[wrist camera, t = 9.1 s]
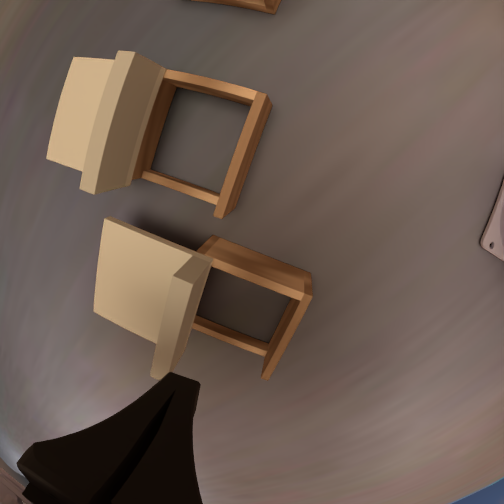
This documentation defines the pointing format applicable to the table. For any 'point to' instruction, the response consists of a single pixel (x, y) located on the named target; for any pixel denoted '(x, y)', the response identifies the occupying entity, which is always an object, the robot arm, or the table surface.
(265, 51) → the table surface
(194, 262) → the lid
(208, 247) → the crates
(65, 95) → the lid
